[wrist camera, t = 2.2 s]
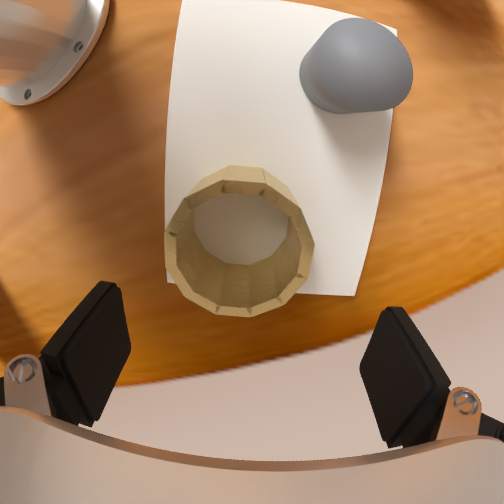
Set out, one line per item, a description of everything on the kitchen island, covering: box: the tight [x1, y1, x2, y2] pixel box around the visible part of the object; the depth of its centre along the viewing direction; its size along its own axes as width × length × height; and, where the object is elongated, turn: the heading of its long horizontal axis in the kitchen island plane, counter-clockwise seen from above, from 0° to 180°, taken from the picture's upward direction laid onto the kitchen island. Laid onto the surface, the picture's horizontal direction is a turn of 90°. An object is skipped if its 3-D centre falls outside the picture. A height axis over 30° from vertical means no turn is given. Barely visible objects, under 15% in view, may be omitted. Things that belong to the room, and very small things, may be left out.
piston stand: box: [165, 0, 413, 296], centre depth 14 cm, size 20×14×6 cm
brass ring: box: [164, 165, 315, 317], centre depth 16 cm, size 7×7×5 cm
